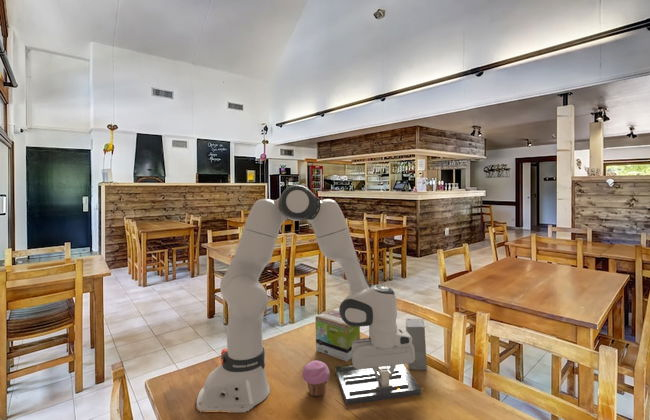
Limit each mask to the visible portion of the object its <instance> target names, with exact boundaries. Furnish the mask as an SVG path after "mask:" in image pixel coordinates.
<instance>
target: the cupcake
mask: <svg viewBox="0 0 650 420" xmlns="http://www.w3.org/2000/svg"><path fill="white" fill-rule="evenodd" d="M330 375H331V372H330V368H329V367H328V365H327V364H326V363H325V362H323V361H321V360H316V359H315V360H312V361H310V362H307V363H306V364H305V365H304V367H303V370H302V378H303V380H304V381H305V383H307V388H308V391H309V394H310V395H311V396H313V397H315V396H316V397H317V396H323V395H325V394H326V387H327V383H328V381H329V379H330Z"/></svg>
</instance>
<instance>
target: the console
mask: <svg viewBox="0 0 650 420" xmlns="http://www.w3.org/2000/svg"><path fill="white" fill-rule="evenodd" d="M386 368H387V370H389V368H390V366H386ZM376 371H378V367H377V370H376ZM334 373H335V376H336V378H337V381H338V384H339V387H340V390H341V393H342V396H343V399H344V402H345V404H346V406H348V405H357V404H364V403H372V402H379V401H386V400H392V399H393V400H395V399H399V398H409V397H414V396H422V388H421V386H420V385H419V384H418V383H417V381H416V379H415V378H414V377H413V376H412V374H411V373H410V371H409V370H408V369H407V368H406V366H405V364H400V365H396V368H395V370H394V371H393V373H392V378H389V386H381V384H380V382H379V380H378V379H377V380H376V378H375V372H374V371H373V369H372V368H366V369H358V370H357V369H356V368H355V367H354V366H353V364H347V365H338V366H335V367H334Z"/></svg>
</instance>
